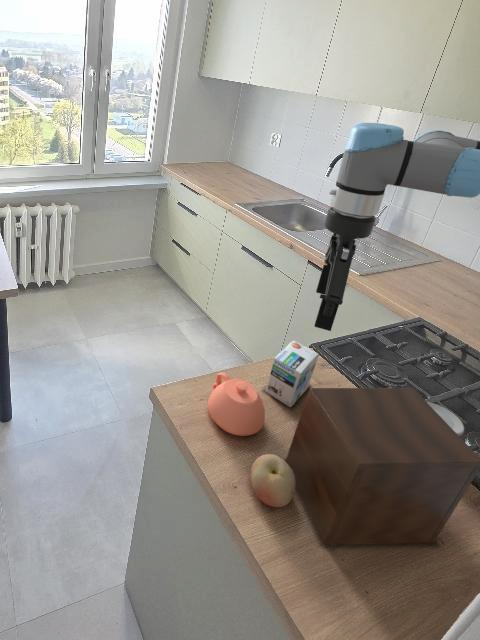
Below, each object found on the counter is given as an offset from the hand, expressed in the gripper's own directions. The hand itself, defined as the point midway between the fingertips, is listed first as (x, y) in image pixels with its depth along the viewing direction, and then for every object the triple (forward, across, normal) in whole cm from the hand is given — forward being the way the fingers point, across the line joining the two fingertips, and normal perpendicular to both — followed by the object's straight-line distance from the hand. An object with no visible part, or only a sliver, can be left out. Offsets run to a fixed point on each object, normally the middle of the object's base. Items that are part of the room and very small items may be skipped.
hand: (322, 309), depth 83 cm
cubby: (+31, +14, +12) cm, 36 cm away
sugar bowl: (+31, +5, -12) cm, 33 cm away
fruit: (+31, +20, -2) cm, 37 cm away
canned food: (+31, -5, +26) cm, 41 cm away
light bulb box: (+31, -10, -1) cm, 32 cm away
